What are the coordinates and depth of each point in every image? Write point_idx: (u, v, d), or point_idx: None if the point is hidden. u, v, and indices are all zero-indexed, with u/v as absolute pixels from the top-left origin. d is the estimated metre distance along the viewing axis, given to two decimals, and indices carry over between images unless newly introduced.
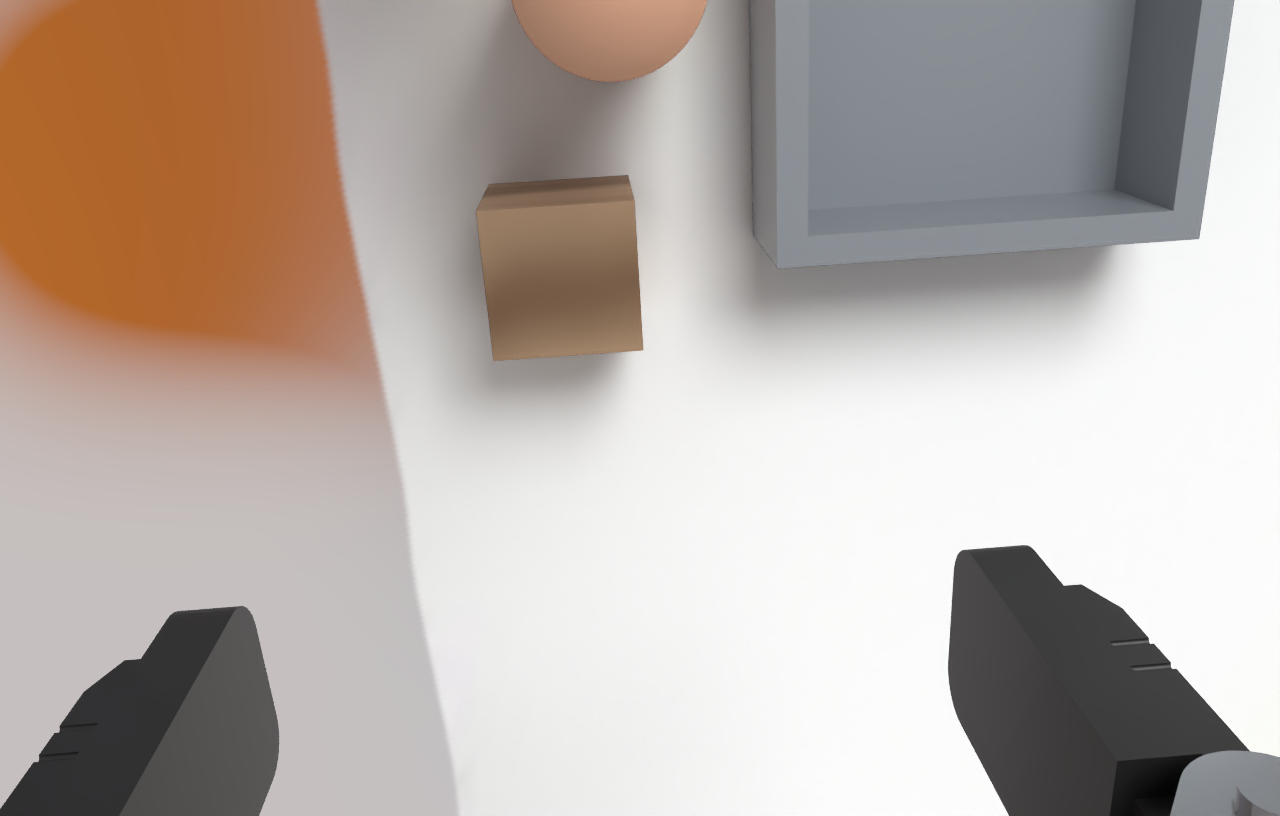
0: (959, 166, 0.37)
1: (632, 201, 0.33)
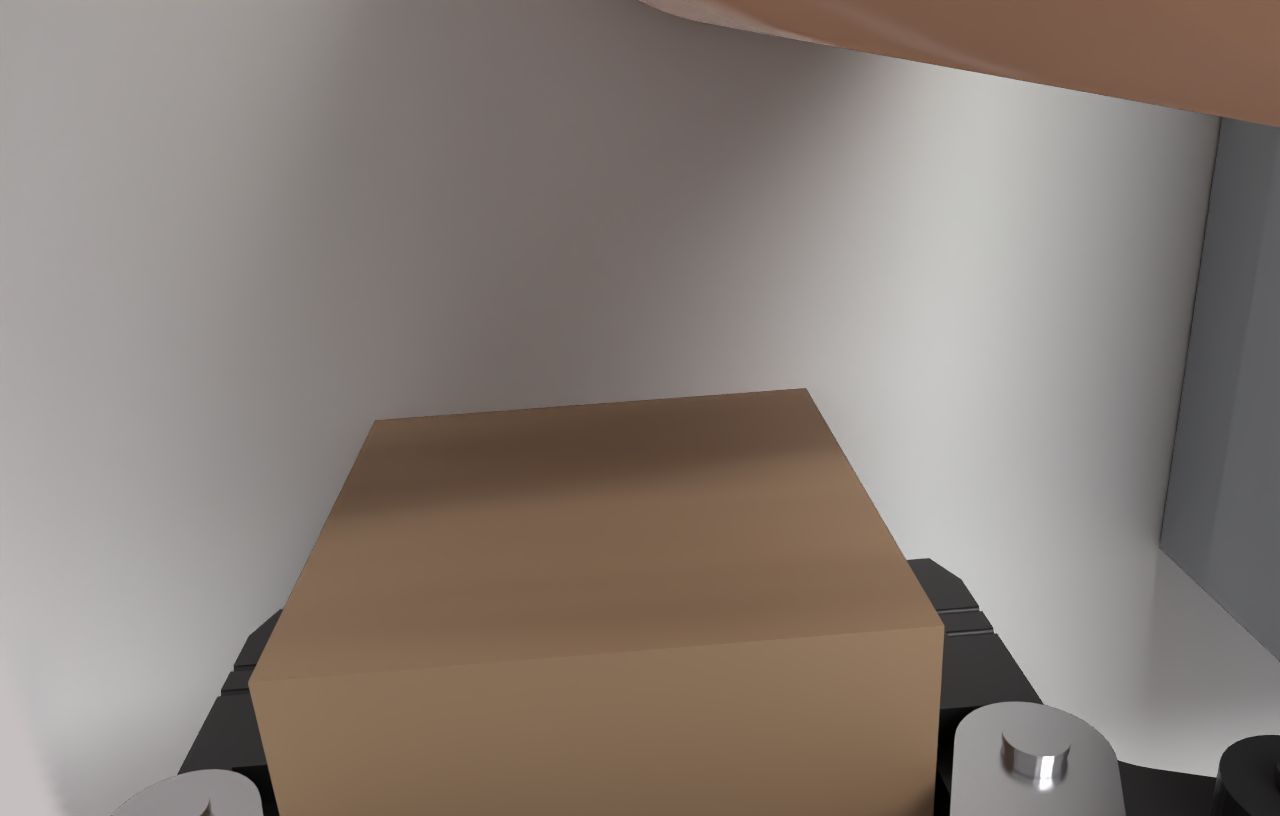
0: None
1: (934, 627, 0.07)
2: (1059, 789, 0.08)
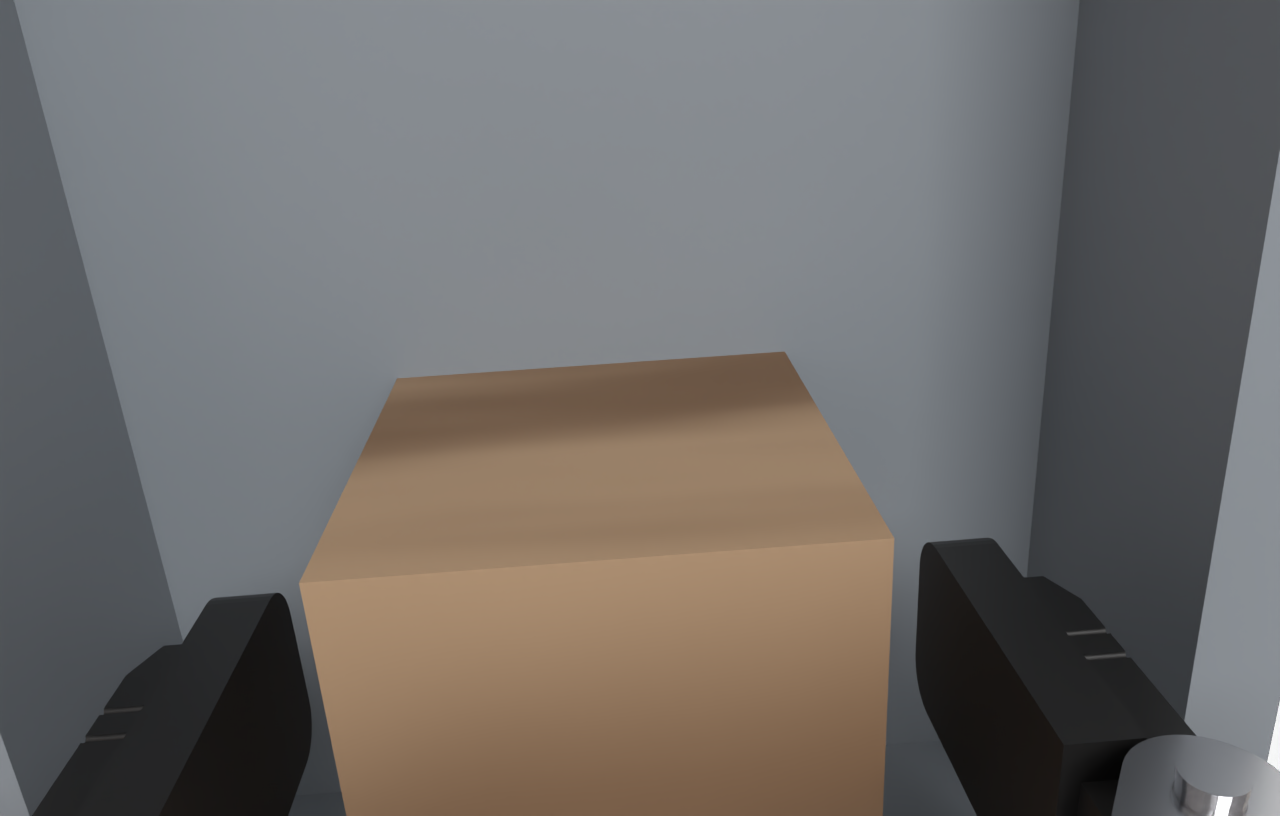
0: None
1: (886, 540, 0.09)
2: None
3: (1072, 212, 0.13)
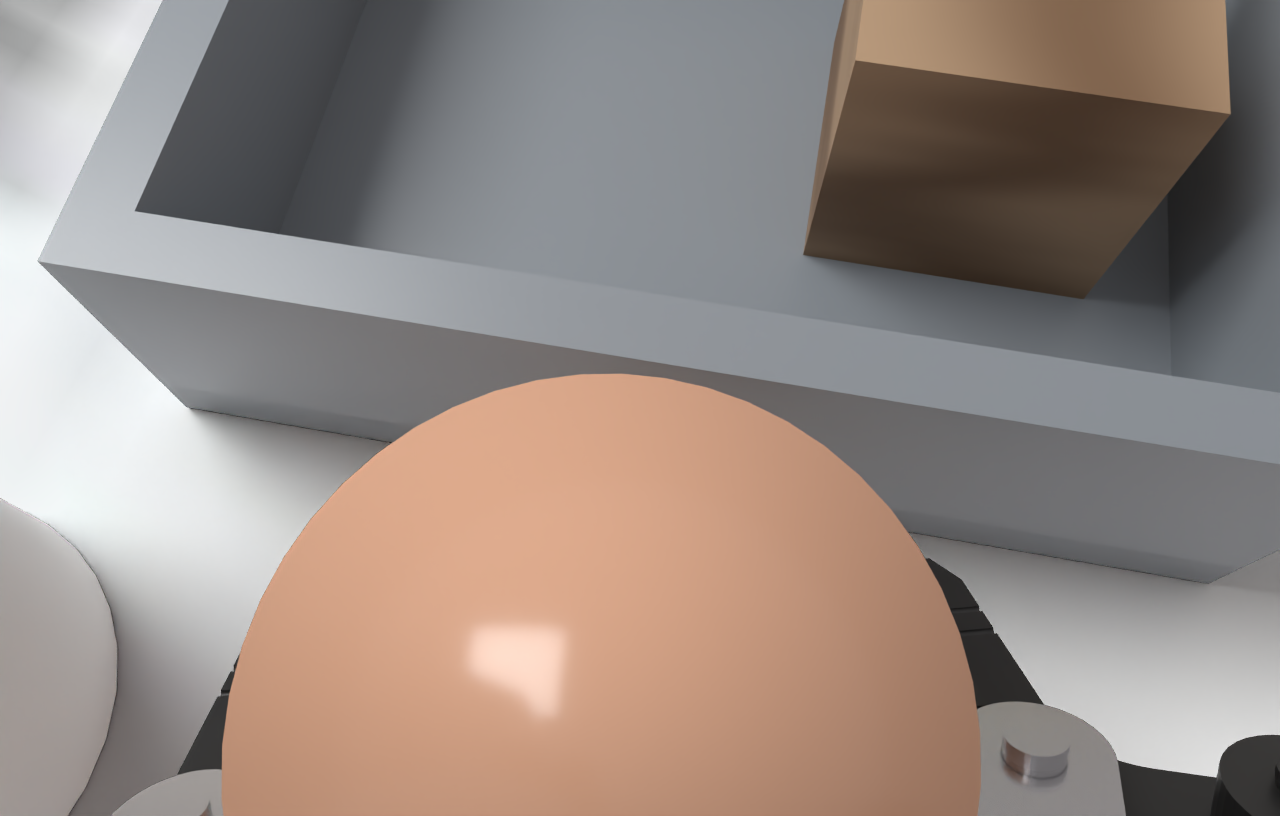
0: None
1: None
2: (1059, 789, 0.08)
3: None
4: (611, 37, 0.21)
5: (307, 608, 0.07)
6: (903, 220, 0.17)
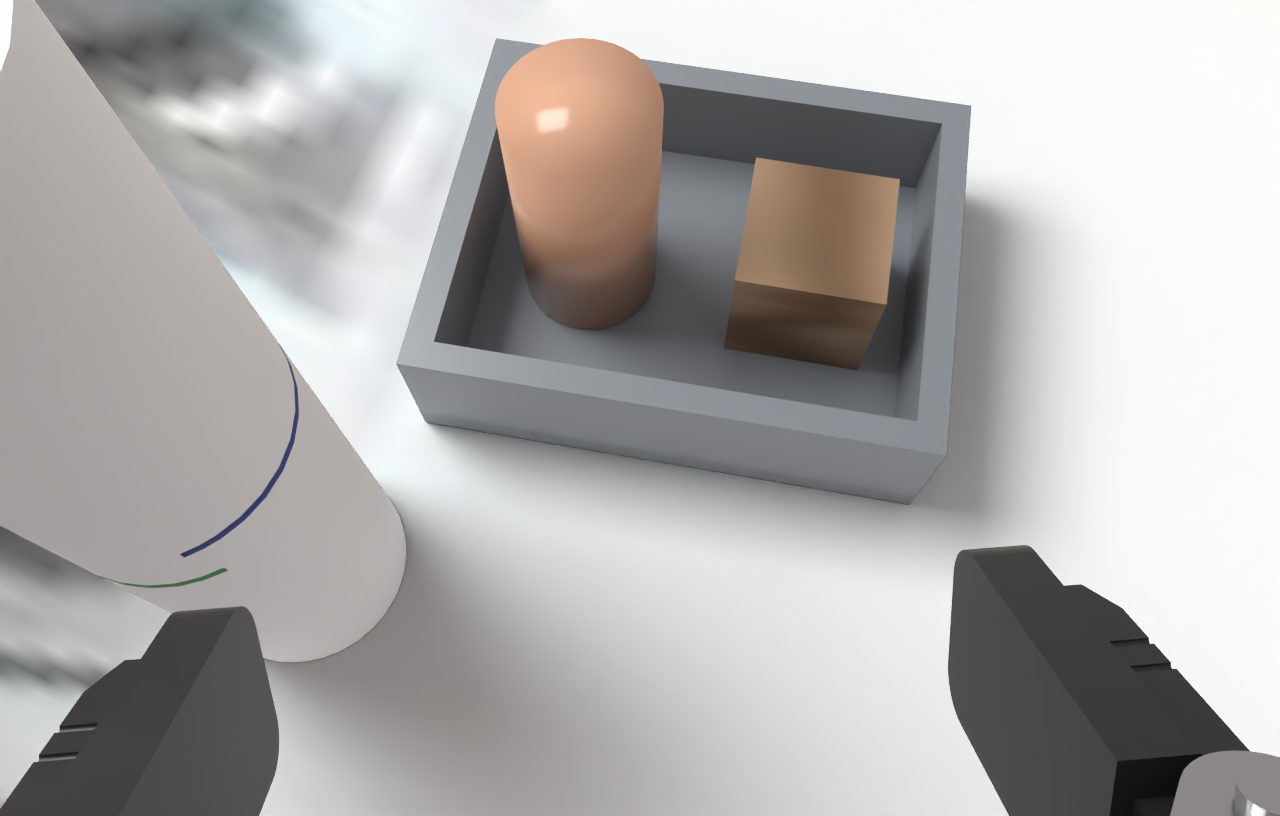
0: None
1: (756, 159, 0.36)
2: None
3: (716, 153, 0.42)
4: None
5: (514, 80, 0.31)
6: (767, 336, 0.37)
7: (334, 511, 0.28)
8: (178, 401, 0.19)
